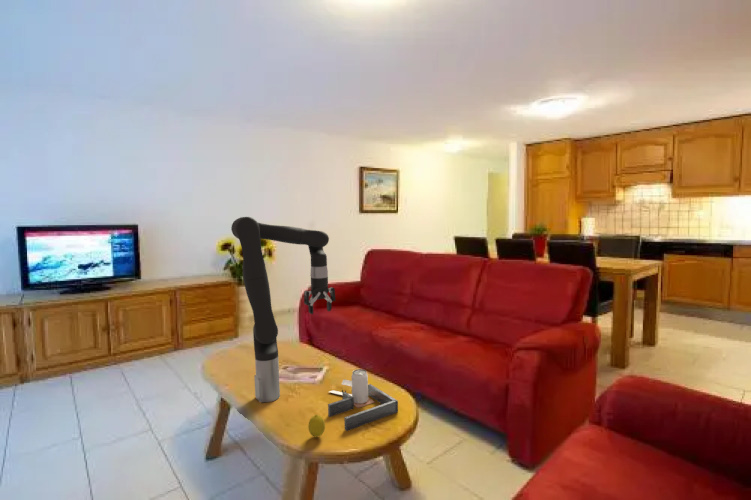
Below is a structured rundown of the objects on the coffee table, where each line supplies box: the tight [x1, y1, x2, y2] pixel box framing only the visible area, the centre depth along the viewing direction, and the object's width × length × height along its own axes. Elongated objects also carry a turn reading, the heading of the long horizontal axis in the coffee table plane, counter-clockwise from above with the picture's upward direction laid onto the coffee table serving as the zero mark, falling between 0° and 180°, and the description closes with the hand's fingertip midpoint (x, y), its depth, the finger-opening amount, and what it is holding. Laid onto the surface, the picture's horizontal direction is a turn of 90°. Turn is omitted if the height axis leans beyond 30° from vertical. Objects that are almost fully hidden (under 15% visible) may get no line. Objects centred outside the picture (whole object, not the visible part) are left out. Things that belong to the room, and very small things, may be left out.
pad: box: [354, 397, 376, 409], centre depth 162 cm, size 8×8×1 cm
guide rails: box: [327, 383, 399, 432], centre depth 154 cm, size 23×19×4 cm
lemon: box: [307, 414, 326, 438], centre depth 137 cm, size 6×6×8 cm
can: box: [351, 368, 369, 404], centre depth 162 cm, size 6×6×12 cm
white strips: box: [329, 379, 352, 396], centre depth 173 cm, size 12×12×2 cm
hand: (320, 312), depth 178 cm, fingers open, 8 cm apart
